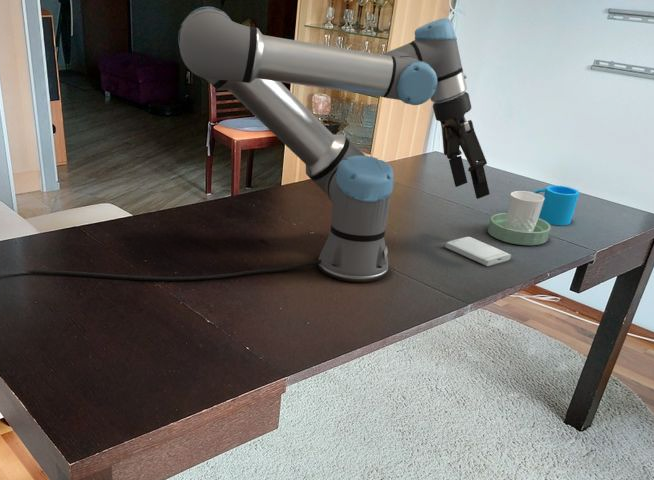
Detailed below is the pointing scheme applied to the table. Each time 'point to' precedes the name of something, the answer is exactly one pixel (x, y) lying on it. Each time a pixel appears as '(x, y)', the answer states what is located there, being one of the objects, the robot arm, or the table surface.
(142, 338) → the table surface
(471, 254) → the hard drive
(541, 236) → the bowl
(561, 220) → the mug
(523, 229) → the white cup
